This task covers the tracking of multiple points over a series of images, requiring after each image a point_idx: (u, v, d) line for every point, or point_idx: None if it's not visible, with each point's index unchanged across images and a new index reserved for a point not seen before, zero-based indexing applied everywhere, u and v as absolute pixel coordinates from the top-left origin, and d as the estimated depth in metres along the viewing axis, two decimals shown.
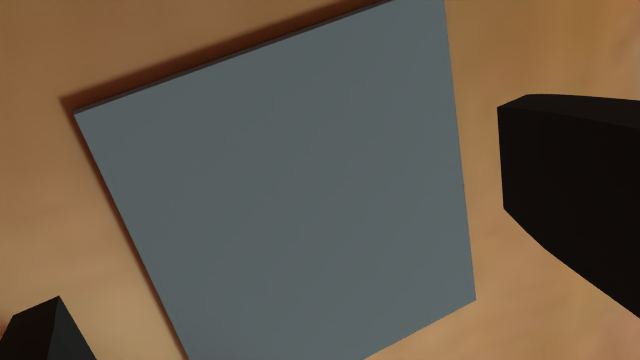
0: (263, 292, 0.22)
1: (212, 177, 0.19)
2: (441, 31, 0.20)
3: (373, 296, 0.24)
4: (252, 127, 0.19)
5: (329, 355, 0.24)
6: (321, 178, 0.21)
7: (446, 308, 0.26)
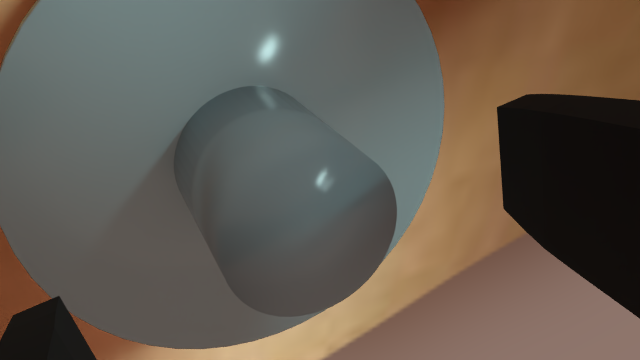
0: None
1: None
2: None
3: None
4: None
5: None
6: None
7: None
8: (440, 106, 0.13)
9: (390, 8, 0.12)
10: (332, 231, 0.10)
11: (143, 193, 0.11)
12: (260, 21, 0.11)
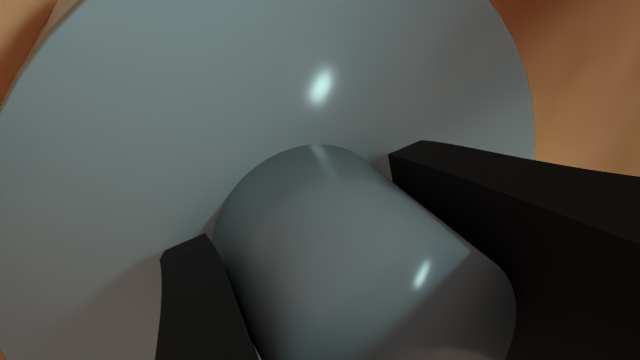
0: None
1: None
2: None
3: None
4: None
5: None
6: None
7: None
8: None
9: (481, 43, 0.10)
10: (436, 354, 0.07)
11: None
12: (325, 64, 0.09)
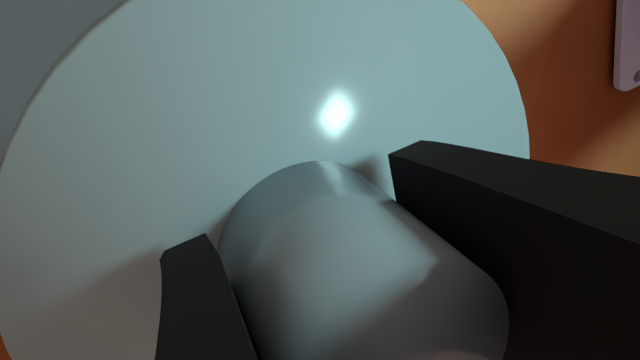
0: None
1: None
2: None
3: None
4: None
5: None
6: None
7: None
8: None
9: (471, 59, 0.10)
10: None
11: None
12: (319, 84, 0.09)
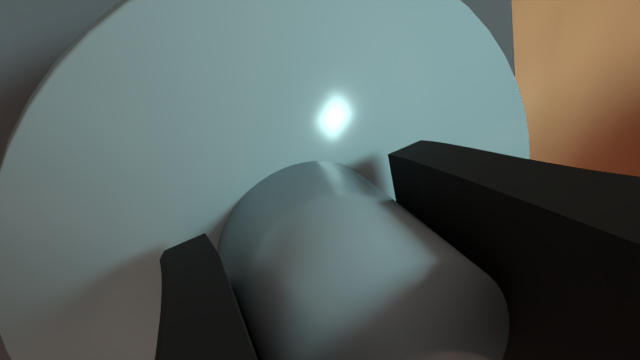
0: None
1: None
2: None
3: None
4: None
5: None
6: None
7: None
8: None
9: (472, 59, 0.10)
10: None
11: None
12: (319, 84, 0.09)
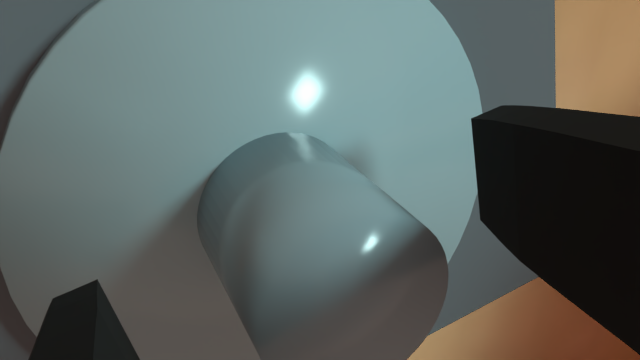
0: None
1: None
2: None
3: None
4: None
5: None
6: None
7: None
8: None
9: (428, 42, 0.11)
10: (379, 303, 0.09)
11: (163, 252, 0.10)
12: (289, 63, 0.10)
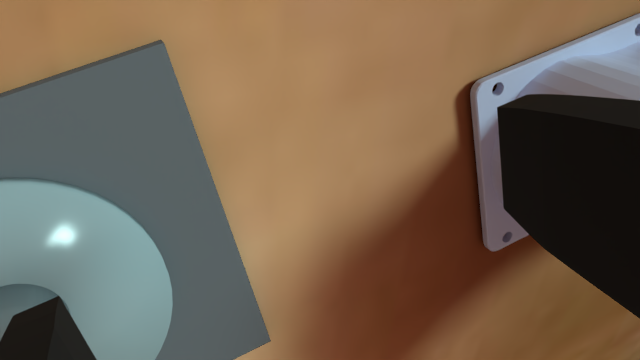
0: None
1: None
2: None
3: None
4: None
5: (202, 254, 0.20)
6: None
7: (168, 97, 0.18)
8: (165, 275, 0.19)
9: (107, 225, 0.18)
10: None
11: None
12: (6, 248, 0.17)
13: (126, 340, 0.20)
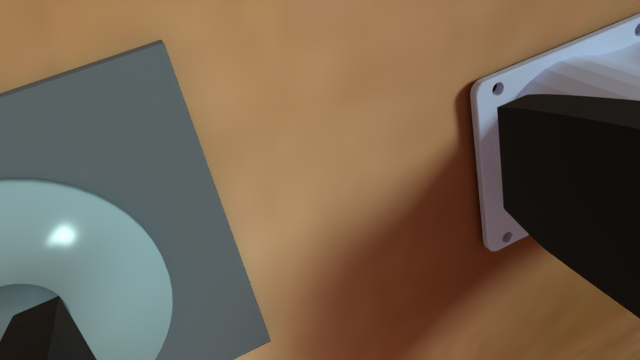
0: None
1: None
2: None
3: None
4: None
5: (202, 254, 0.20)
6: None
7: (168, 97, 0.18)
8: (165, 275, 0.19)
9: (107, 225, 0.18)
10: None
11: None
12: (6, 248, 0.17)
13: (126, 340, 0.20)
